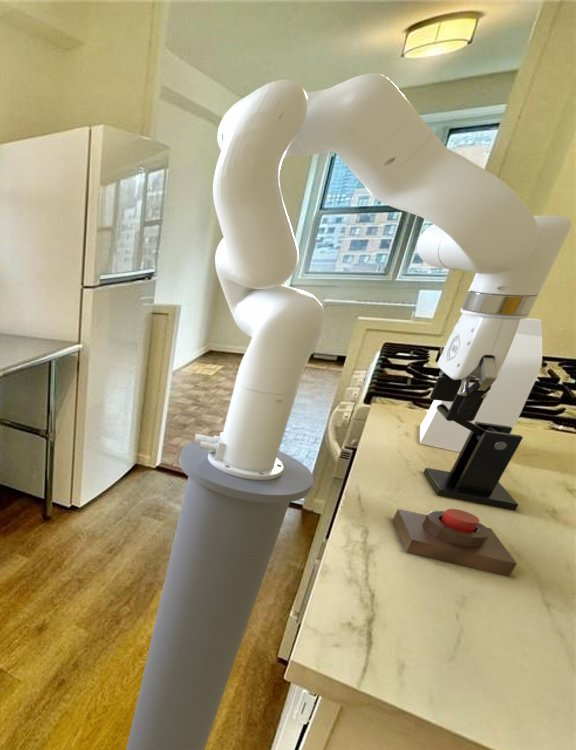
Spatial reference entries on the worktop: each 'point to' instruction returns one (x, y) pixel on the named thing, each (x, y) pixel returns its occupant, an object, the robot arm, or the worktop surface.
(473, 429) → the lever
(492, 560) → the button box
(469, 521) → the button
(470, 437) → the bracket
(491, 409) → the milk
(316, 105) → the robot arm
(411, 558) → the worktop surface
